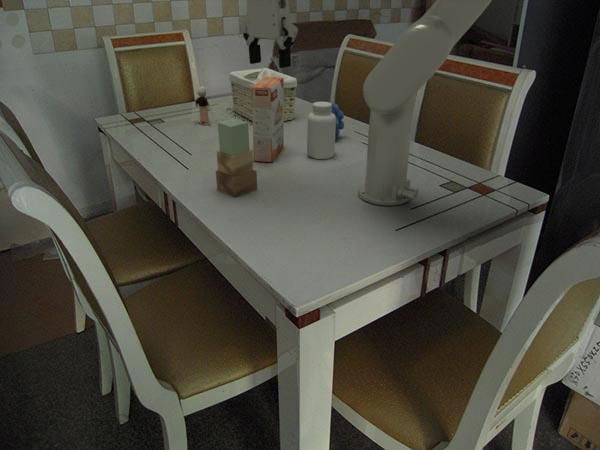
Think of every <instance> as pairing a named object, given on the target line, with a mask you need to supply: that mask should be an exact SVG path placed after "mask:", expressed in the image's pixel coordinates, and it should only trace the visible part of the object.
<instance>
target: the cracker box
mask: <svg viewBox="0 0 600 450" xmlns="http://www.w3.org/2000/svg"><path fill="white" fill-rule="evenodd" d="M283 85H284V79H283V78H280V77H264V78H263V79H262V80H260V81H259V82H258V83H256V84H255V85H254V86H252V117H253V121H252V140H253V142H252V145H253V162H261V163H262V162H264V163H273V162H274V161H275V160H276V158H277V157H278V155H279V154H280V153H281V152H282V150H283V148H284V146H285V145H284V143H285V141H284V137H285V136H284V134H285V133H284V122H285V121H284V108H283V95H284V87H283Z"/></svg>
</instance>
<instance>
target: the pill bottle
mask: <svg viewBox="0 0 600 450" xmlns="http://www.w3.org/2000/svg"><path fill="white" fill-rule="evenodd" d="M332 104H333V103H331V102H329V101H316V102H313V103H312V112H310V113H309V114H308V116H307V134H306V135H307V137H306V138H307V139H306V140H307V142H306V144H307V145H306V152H307V153H306V154H307V156H308V157H310V158H311V159H315V160H326V159H327V160H328V159H331V158H333V157H334V156H335V150H336V137H335V131H336V117H335V115H334V114H333V113H331V111H332V110H331V109H332Z"/></svg>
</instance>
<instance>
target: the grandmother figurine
mask: <svg viewBox="0 0 600 450" xmlns="http://www.w3.org/2000/svg"><path fill="white" fill-rule="evenodd" d="M206 91H207V89H206V87H205V86H199V87H198V88H197V89H196V92H195V94H196V95H198V97H197V98H196V100H195V101H194V102H195V104H194V106H195V108H197V107H199V117H200V118H199V119H200V122H199V123H200V124H199V125H203V126H205V125H206V126H211V124H212V122H211V121H210V117H209V112H210V111H211V108H210V104H209V101H208V98H206V96H207V92H206Z"/></svg>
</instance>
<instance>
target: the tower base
mask: <svg viewBox="0 0 600 450" xmlns="http://www.w3.org/2000/svg"><path fill="white" fill-rule="evenodd" d="M257 174H258V173H257V170H255V169H253V171H251V172H248V173H245V174H242V175H239V176H236V177H231V176H229V175H227V174H225V173H222V172H220V171H218V169H217V170H215V177H216V189H217V191H220V192H222V193H225V194H227V195H228V196H231V197H233V198H237V197H240V196H243V195H246V194H248V193H251V192H253V191H256V190H258V179H257V178H258V176H257Z"/></svg>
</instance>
